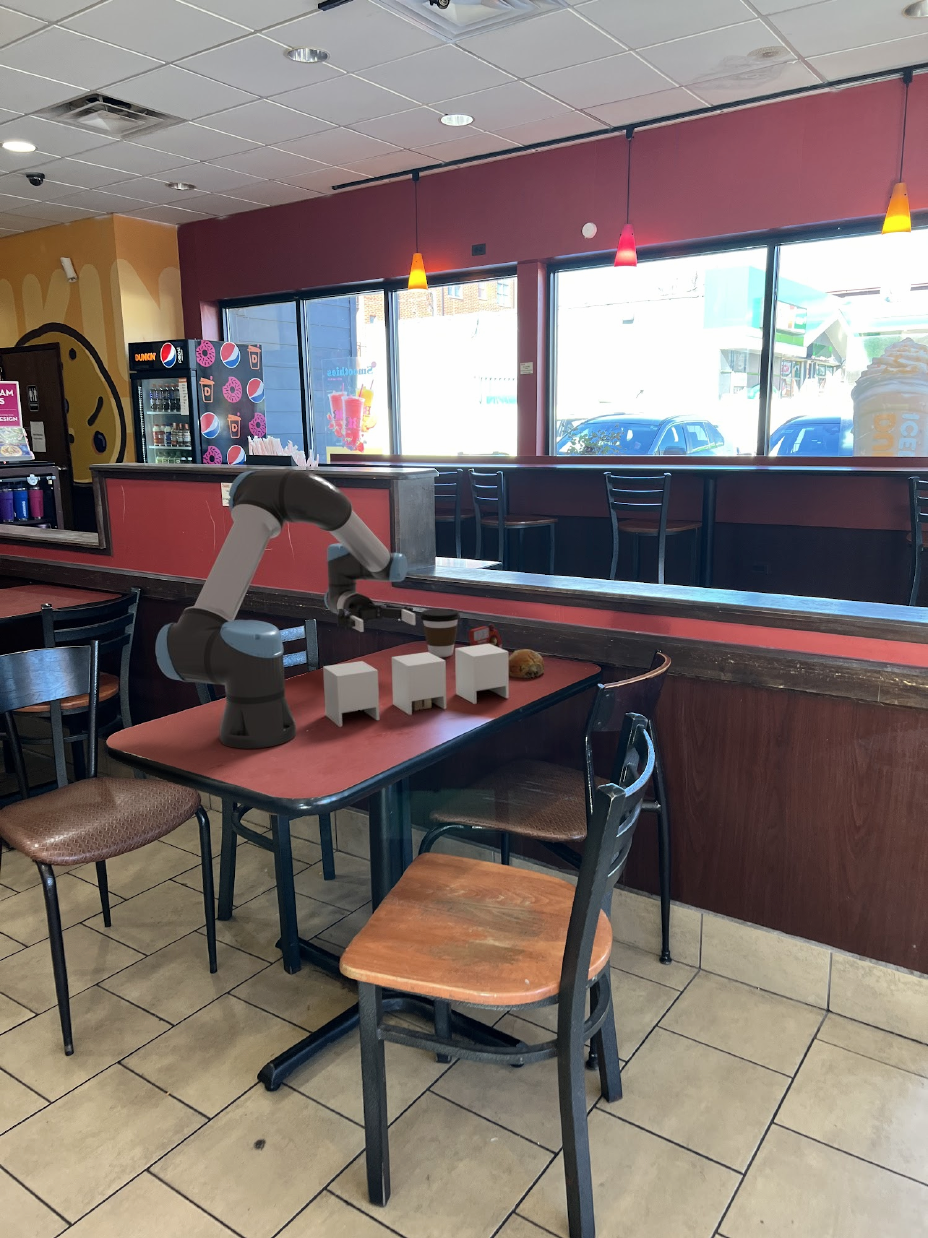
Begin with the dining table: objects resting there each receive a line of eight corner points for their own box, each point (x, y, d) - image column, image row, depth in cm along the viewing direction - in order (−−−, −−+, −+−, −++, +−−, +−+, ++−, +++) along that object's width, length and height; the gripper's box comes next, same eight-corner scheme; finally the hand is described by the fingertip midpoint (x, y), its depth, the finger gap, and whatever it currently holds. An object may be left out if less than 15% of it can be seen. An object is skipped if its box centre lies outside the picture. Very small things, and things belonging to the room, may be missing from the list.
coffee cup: (443, 647, 253) (443, 606, 250) (468, 654, 244) (468, 612, 242) (413, 654, 246) (412, 611, 243) (437, 661, 237) (436, 617, 235)
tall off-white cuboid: (409, 715, 193) (408, 666, 191) (393, 704, 201) (391, 657, 199) (446, 708, 197) (445, 660, 195) (428, 698, 205) (427, 652, 203)
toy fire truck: (510, 661, 237) (510, 623, 235) (481, 671, 228) (481, 631, 226) (490, 657, 242) (490, 620, 239) (461, 666, 232) (460, 628, 230)
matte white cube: (339, 726, 186) (337, 676, 184) (325, 715, 194) (323, 666, 191) (379, 720, 190) (377, 670, 188) (364, 708, 198) (362, 661, 195)
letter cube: (415, 710, 196) (414, 693, 195) (407, 705, 200) (407, 688, 199) (431, 708, 198) (431, 690, 197) (423, 703, 202) (423, 686, 201)
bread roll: (544, 684, 228) (544, 653, 230) (544, 677, 218) (544, 645, 220) (506, 683, 229) (506, 653, 231) (504, 676, 219) (504, 645, 221)
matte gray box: (474, 703, 200) (473, 656, 198) (455, 693, 208) (455, 648, 206) (508, 698, 204) (508, 651, 202) (489, 688, 212) (489, 643, 210)
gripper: (400, 616, 238) (435, 631, 220) (311, 627, 227) (340, 644, 209) (399, 588, 237) (434, 602, 219) (309, 598, 225) (338, 613, 207)
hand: (388, 622), depth 214 cm, fingers open, 13 cm apart
